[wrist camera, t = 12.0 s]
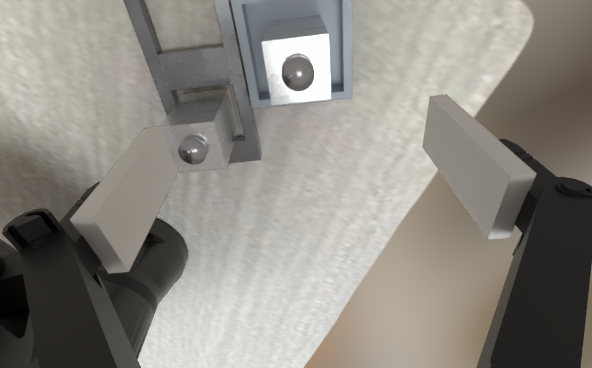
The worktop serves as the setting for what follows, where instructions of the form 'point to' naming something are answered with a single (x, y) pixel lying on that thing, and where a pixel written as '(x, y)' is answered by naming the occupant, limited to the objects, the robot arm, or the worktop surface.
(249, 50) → the tray
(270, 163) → the worktop surface
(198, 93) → the grey knobbed block
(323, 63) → the knobbed metal block
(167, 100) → the grey slotted plate
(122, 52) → the worktop surface
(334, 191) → the worktop surface
